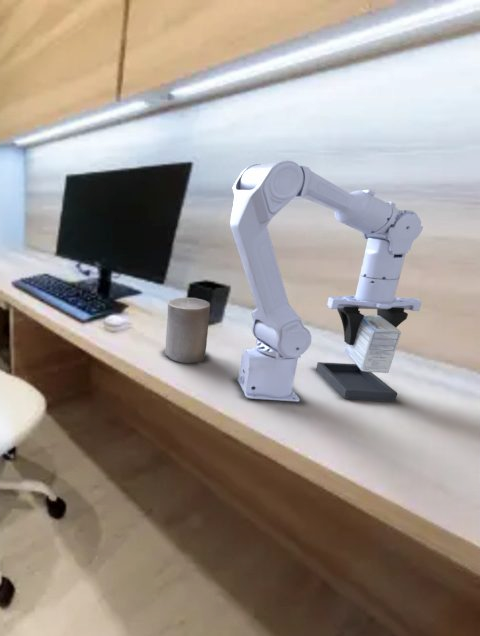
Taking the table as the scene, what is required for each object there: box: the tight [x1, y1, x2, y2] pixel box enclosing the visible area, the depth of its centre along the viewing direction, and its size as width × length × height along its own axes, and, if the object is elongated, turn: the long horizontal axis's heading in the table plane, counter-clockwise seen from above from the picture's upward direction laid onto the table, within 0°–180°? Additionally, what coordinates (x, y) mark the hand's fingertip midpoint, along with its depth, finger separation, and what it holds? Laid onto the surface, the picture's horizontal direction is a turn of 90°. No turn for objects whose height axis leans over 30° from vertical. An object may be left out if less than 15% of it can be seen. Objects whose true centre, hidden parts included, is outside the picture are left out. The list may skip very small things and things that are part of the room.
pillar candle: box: [164, 297, 211, 364], centre depth 93 cm, size 10×10×15 cm
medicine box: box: [344, 314, 402, 374], centre depth 73 cm, size 8×4×9 cm, turn 166°
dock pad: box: [315, 361, 399, 403], centre depth 78 cm, size 9×13×2 cm
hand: (363, 343), depth 75 cm, fingers closed on medicine box, 4 cm apart
